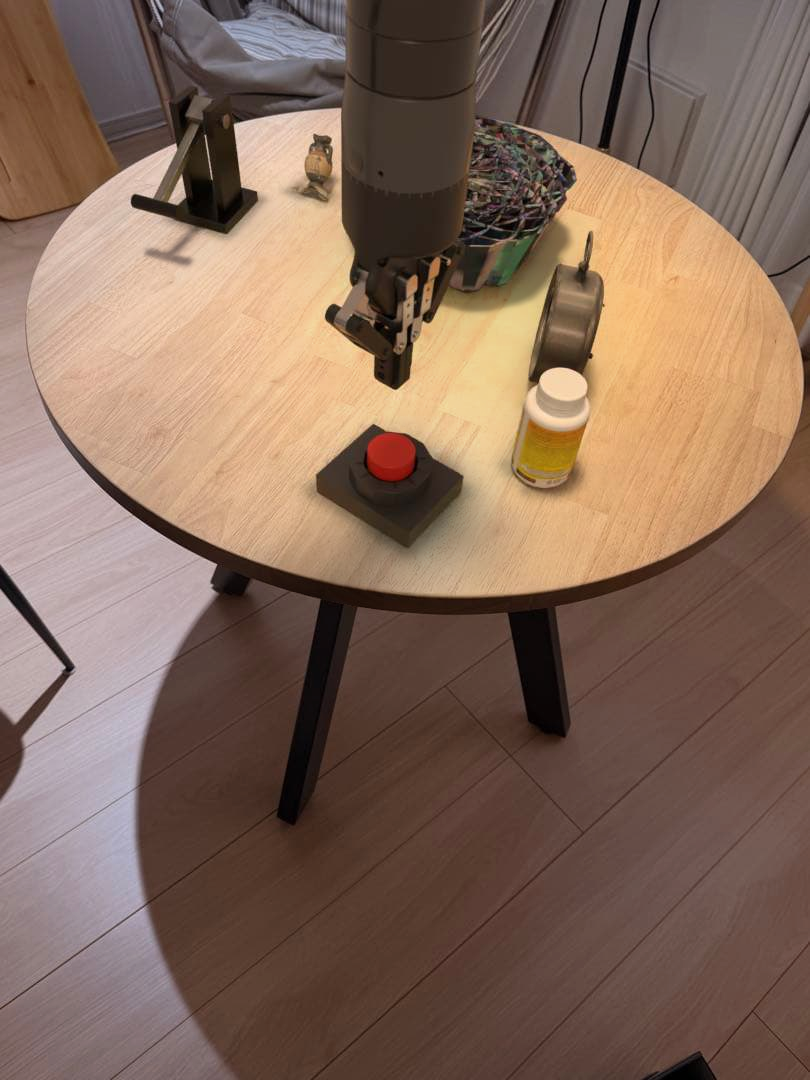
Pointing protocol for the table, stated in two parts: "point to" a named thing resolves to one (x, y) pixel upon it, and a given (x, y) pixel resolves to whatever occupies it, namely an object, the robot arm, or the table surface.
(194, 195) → the bracket
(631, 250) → the table surface
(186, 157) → the lever
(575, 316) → the alarm clock
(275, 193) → the table surface
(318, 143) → the vase
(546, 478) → the supplement bottle
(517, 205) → the decorative bowl
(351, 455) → the control block
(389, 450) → the button
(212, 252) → the table surface
